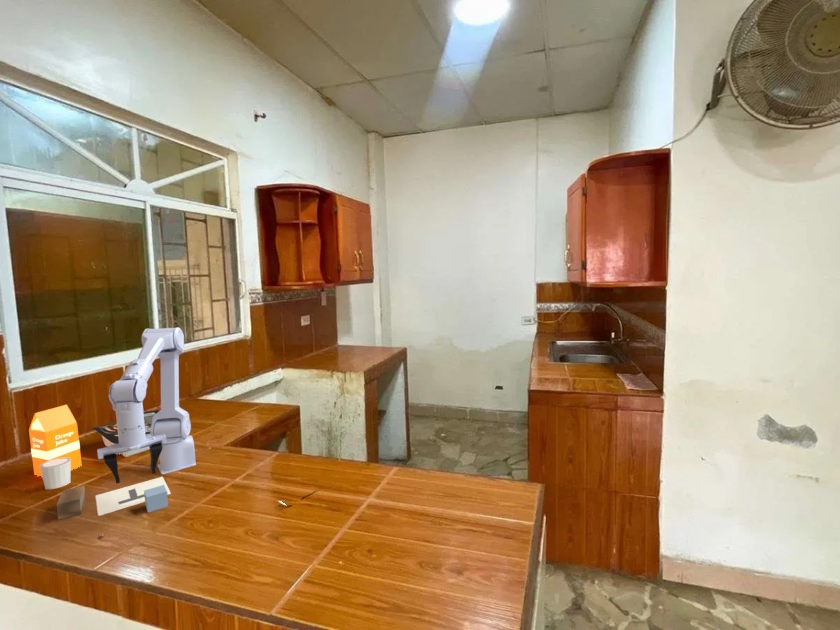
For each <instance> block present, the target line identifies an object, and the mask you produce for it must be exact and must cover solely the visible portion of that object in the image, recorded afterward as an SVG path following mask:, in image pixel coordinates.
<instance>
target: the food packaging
mask: <svg viewBox="0 0 840 630" xmlns="http://www.w3.org/2000/svg"><path fill="white" fill-rule="evenodd" d="M159 411H160V410H159V409H158V410H157V409H156V410H150V411H143V413H144V424H145V435H146V437H151V434H150V428H151V425H152V417H153V416H154V415H155V414H156V413H158V412H159ZM165 419H175V418H165ZM91 429H92V430H94V431H95V432H97V433H98V434H100V435H101V438H102V441H103V443H104V445H105V447H108V446H111V445H114V444H117V443H119V439H118V428H117V421H116V422H112V423H109V424H104V425H101V426H95V427H91ZM146 451H150V447H145V448H141V449H137V450H133V451H128V452H124V453H119V456H120V454H121V455H122V456H123V457H125V458H127V457H128V458H129V457H130V456H134V455H137V454H139V453H144V452H146Z"/></svg>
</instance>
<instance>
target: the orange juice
mask: <svg viewBox="0 0 840 630" xmlns="http://www.w3.org/2000/svg"><path fill="white" fill-rule="evenodd" d="M28 432H29V433H28V434H29V441H30V442H29V443H30V451H31V452H30V453H31V460H32V466H33V474H34V475H37V476H36V477H39V476H41V477H40V478H43V477H42V473H41V469H40V465H41V464H43V463H44V462H47V461H49V460H53V459H57V458H65V457H68V458H70V459H71V471H73V469H74V470H76V469H78V467H79V468H81V467H82V466H83V465H82V455H81V445H80V439H79V430H78V421H76V419H75V417H74V415H73V413H72V412H71V409H70V408H69V406H68V404H64V405H60V406H57V407H53V408H49V409H45V410H41V411H37V412H34V415H33V418H32V420H31V423H30V426H29V429H28ZM80 466H81V467H80Z"/></svg>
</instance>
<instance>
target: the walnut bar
mask: <svg viewBox="0 0 840 630" xmlns="http://www.w3.org/2000/svg"><path fill="white" fill-rule="evenodd" d="M85 489H86V488H85V485H81V486H77V487H73V488H68V489H64V490H62V491H61V493H60V496H59V498H58V500H57V503H56V511H57V520H64V519H67V518H71V517H75V516H80V515H82V512H83V509H84V506H85V503H86V493H85Z"/></svg>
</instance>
